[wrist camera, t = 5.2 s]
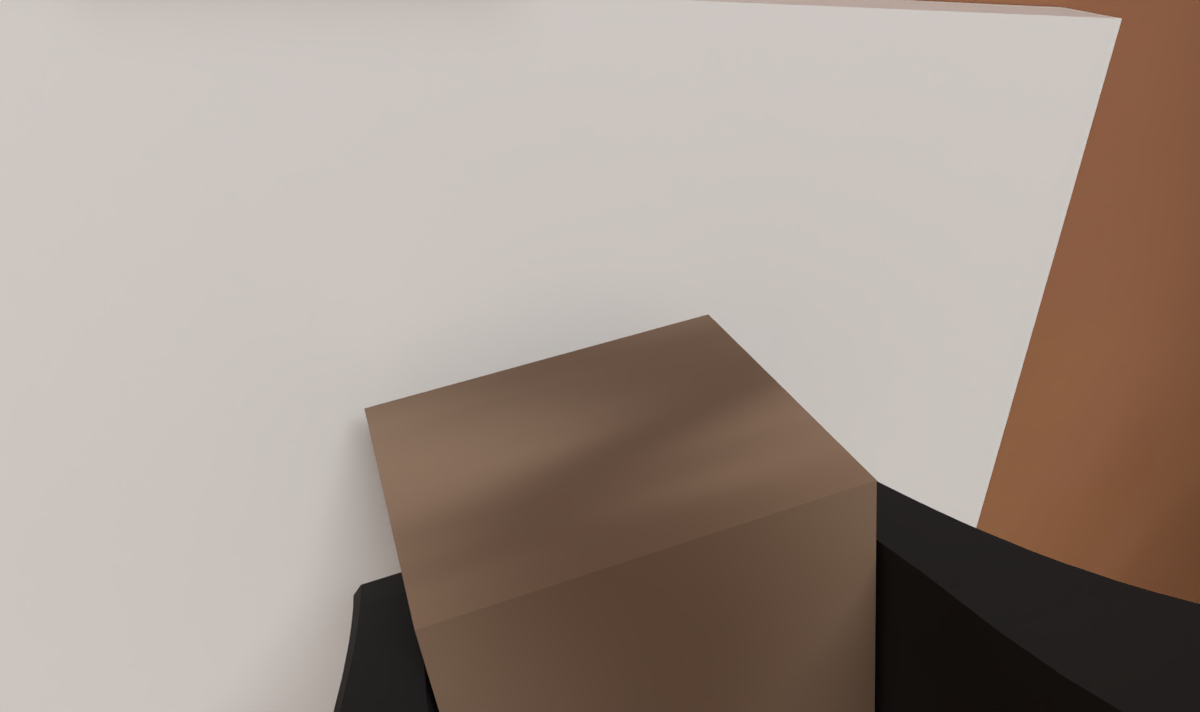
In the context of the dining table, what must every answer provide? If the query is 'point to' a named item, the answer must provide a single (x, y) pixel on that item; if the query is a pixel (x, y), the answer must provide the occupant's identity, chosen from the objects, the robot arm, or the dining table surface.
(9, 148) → the baseplate
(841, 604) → the walnut block
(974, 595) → the robot arm
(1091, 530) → the dining table surface
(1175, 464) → the dining table surface
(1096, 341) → the dining table surface
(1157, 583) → the dining table surface
